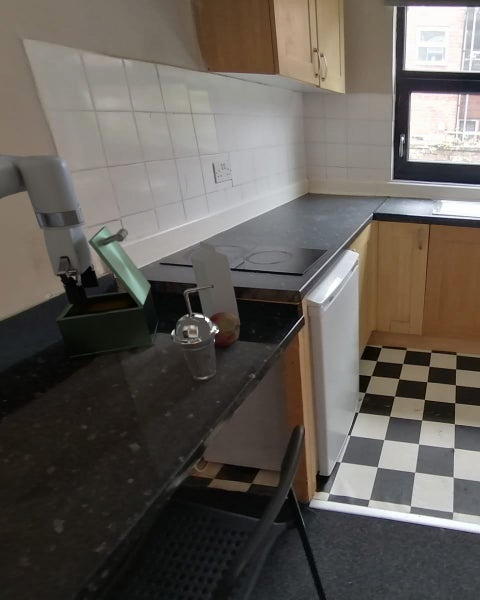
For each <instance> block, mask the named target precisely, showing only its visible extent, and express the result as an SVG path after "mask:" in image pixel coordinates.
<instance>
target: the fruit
mask: <svg viewBox="0 0 480 600" xmlns="http://www.w3.org/2000/svg"><path fill="white" fill-rule="evenodd" d="M209 319H210V320H211V321H212V322H214V323H216V324H217V327H218V329H219V330H218V332H217V334H216V335H215V347H220V348H227V347H230V346H232V345H234V344H235V343H236V342H237V341H238V339H239V338H240V334H241V333H240V331H241V330H240V325H239V320H240V319H239V320H238V318H237V317H236V316H235V315H233V314H230V313H228V312H221V313H217V314H215V315H213V316H211V317H210V318H209Z"/></svg>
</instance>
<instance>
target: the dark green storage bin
mask: <svg viewBox="0 0 480 600" xmlns="http://www.w3.org/2000/svg"><path fill="white" fill-rule="evenodd" d="M87 298H88V302H87V303H80V304H70V303H68V304H67V305H66V306H65V308H64V309H63V311H61V313H60V314H59V315H58V317H56V319H55V322H56V325H57V327H58V330H59V332H60V336H61V338H62V340H63V343H64V345H65V348H66V350H67V353H68V355H69V358H70V361H76V360H81V359H82V360H83V359H88V358H93V357H98V356H104V355H105V356H106V355H111V354H115V353H117V354H118V353H121V352H128V351H133V350H139V348H140V349H144V347H145V348H150V347H149V346H151V347H153V346H154V345H155V340H156V337H157V333H158V329H159V326H160V320H159V317H158V312H157V310H156V306H155V303H154V299H153V294H152V291H151V288H150V289H149V292H148V294H147V297H146V299H145V302H144V305H143V306H141V307H140V306H139V305H138V304H137V303H136V301H135V300H134V299H133V298H132V296H131V295H130V294H129V293H128V291H127V290H124V291H115V292H109V293H100V294H93V295H87Z"/></svg>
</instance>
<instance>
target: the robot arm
mask: <svg viewBox="0 0 480 600" xmlns="http://www.w3.org/2000/svg"><path fill="white" fill-rule="evenodd" d="M25 192H27V195H28V198H29V201H30V203H31V206H32V209H33V212H34V215H35V218H36V220H37V223H38V227H39V229H40V230H43V237H44V242H45V247H46V251H47V254H48V259H49V261H50V266H51V268H52V269H51V270H52V272H53V274H54V276H55V277H59V278H60V282H61V283H62V287H63V289H64V291H65V294H66V297H67V301H68V302H69V303H70V304H80V303H87V302H88V298H87V296H88V294H87V292H86V289H90V288H98V287H100V283H99V280H98V276H97V273H96V270H95V266H94V264H93V255H92V250H91V248H90V244H89V242H88V239H87V236H86V234H85V229H84V228H83V226H85V225H86V221H85V218H84V214H83V211H82V208H81V204H80V201H79V197H78V194H77V191H76V187H75V183H74V181H73V177H72V173H71V170H70V167H69V164H68V162H67V160H66V159H65V158H63V157H61V156H59V155H52V154H48V155H26V156H20V155H11V154H2V153H1V154H0V200H1V199H3V198H6V197H9V196H12V195H16V194H19V193H25ZM69 303H68V304H69Z"/></svg>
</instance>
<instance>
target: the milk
mask: <svg viewBox="0 0 480 600" xmlns="http://www.w3.org/2000/svg"><path fill="white" fill-rule="evenodd" d="M199 246H200V248H198V249H197V251H195V253H193V254H192V255H191V256H190V260H191V265H192V270H193V274H194V279H195V283H196V288H197V287H202V286H207V285H213V287H214V288H211V289H206V290H201V291H197V292H198V297H199V301H200V305H201V311H202V314H204V315H205V316H207V317H208V318H210V317H211V316H213V315H215V314H217V313H221V312H228V313H230V314H233V315H235V316H236V317H237V318H238V320H239V326H241V321H240V315H239V309H238V304H237V298H236V293H235V288H234V283H233V277H232V270H231V265H230V260H229V255H228V254H225V253H221V252H219V251H216V248H215V245H214V244H211V243H207V242H204V241H199Z"/></svg>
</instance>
